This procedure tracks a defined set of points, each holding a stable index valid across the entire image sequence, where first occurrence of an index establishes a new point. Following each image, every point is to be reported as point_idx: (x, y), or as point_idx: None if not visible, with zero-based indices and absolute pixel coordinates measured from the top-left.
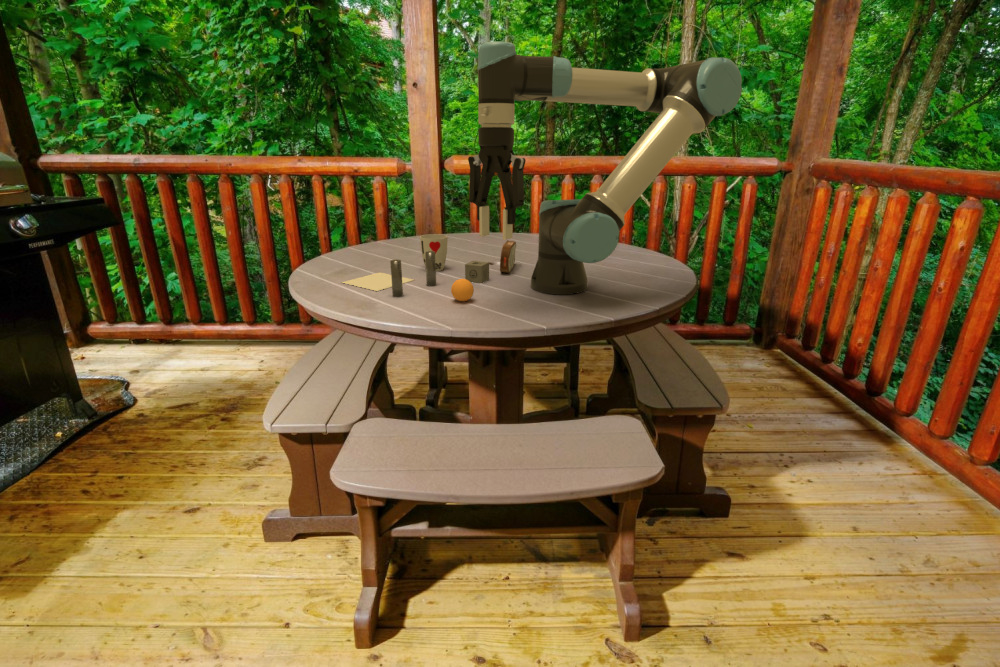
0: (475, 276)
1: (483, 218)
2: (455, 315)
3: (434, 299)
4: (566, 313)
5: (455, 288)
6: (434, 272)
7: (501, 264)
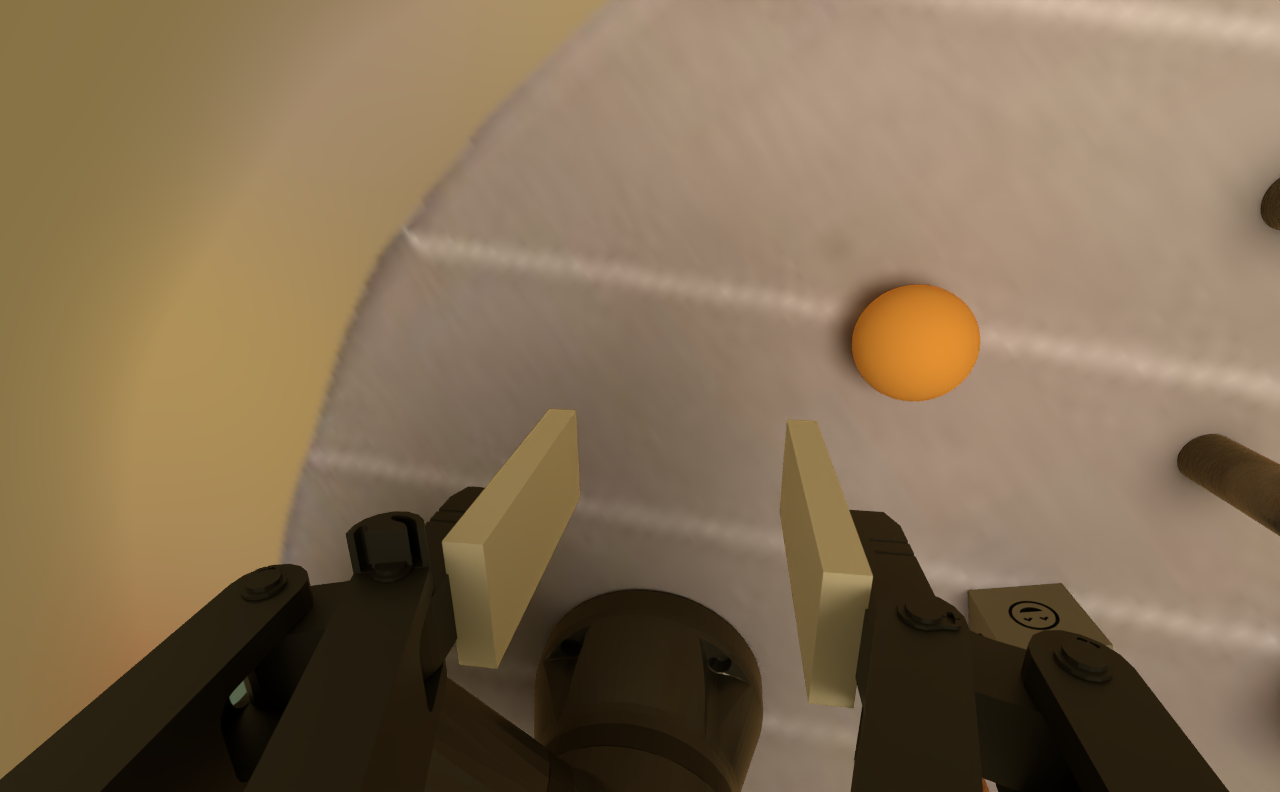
0: (1014, 607)
1: (803, 517)
2: (800, 130)
3: (1045, 268)
4: (451, 425)
5: (929, 293)
6: (1235, 489)
7: None
